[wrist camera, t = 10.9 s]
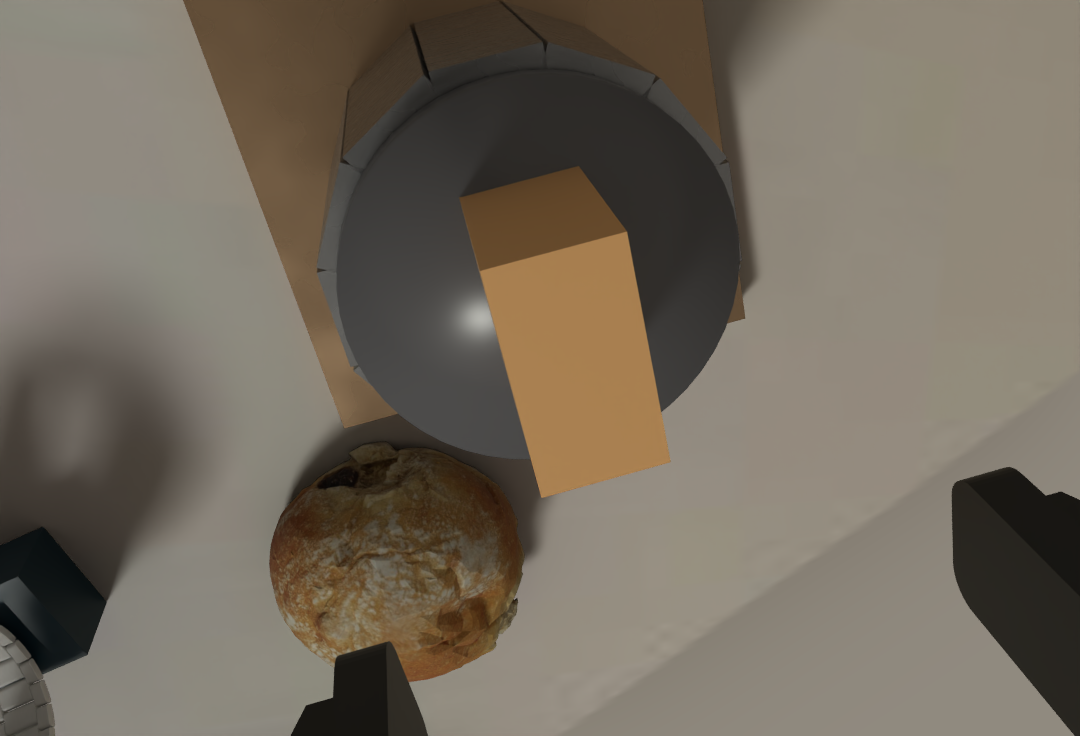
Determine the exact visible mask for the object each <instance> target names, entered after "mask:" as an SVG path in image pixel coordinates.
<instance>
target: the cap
mask: <svg viewBox="0 0 1080 736" xmlns="http://www.w3.org/2000/svg"><path fill="white" fill-rule="evenodd" d="M739 263H740V251H739V235H738V229H737V224H736V219H735V214H734V209H733V206H732V203H731V200H730V198H729V195H728V192H727V189H726V186H725V184H724V182H723V180H722V178H721V176H720V175H719V173H718V171H717V169H716V167H715V165H714V163H713V162H712V160H711V159H710V158H709V156H708V155H707V154H706V152H705V151H704V149H703V148H702V147H701V145H700V144H699V143H698V142H697V140H696V139H695V138H694V137H693V136H692V135H691V134H690V133H689V132H688V131H687V130H686V129H685V128H684V127H683V126H682V125H681V124H680V123H678V122H677V121H676V120H675V119H673V118H672V117H671V116H669V115H668V114H667V113H666V112H664V111H663V110H662V109H660V108H659V107H658V106H656V105H655V104H654V103H652V102H651V101H650V100H648V99H647V98H645V97H643V96H641V95H639V94H638V93H636V92H634V91H632V90H630V89H629V88H627V87H625V86H622V85H620V84H617V83H614V82H612V81H609V80H606V79H604V78H601V77H597V76H593V75H589V74H584V73H580V72H575V71H566V70H554V69H534V70H518V71H512V72H507V73H502V74H497V75H491V76H488V77H485V78H482V79H479V80H476V81H473V82H470V83H467V84H464V85H462V86H460V87H458V88H456V89H454V90H452V91H450V92H448V93H446V94H444V95H442V96H440V97H438V98H436V99H435V100H433V101H432V102H430V103H429V104H427V105H426V106H424V107H423V108H421V109H420V110H418V111H417V112H415V113H414V114H413V115H412V116H411V117H410V118H409V119H407V120H406V121H405V122H404V123H403V124H402V125H401V126H399V127H398V128H397V129H396V130H395V131H394V132H393V133H392V134H391V135H390V137H389V138H388V139H387V140H386V141H385V142H384V144H383V145H382V146H381V147H380V148H379V149H378V150H377V152H376V153H375V154H374V156H373V158H372V159H371V161H370V162H369V164H368V165H367V167H366V168H365V170H364V171H363V173H362V175H361V176H360V179H359V181H358V183H357V185H356V187H355V189H354V191H353V194H352V196H351V198H350V200H349V203H348V207H347V210H346V213H345V216H344V220H343V223H342V228H341V234H340V240H339V247H338V256H337V283H336V290H337V298H338V306H339V314H340V318H341V322H342V325H343V329H344V332H345V336H346V339H347V342H348V344H349V346H350V349H351V351H352V353H353V355H354V358H355V360H356V362H357V364H358V365H359V367H360V369H361V370H362V372H363V373H364V375H365V377H366V378H367V380H368V381H369V383H370V384H371V385H372V386H373V388H374V389H375V390H376V391H377V393H378V394H379V395H380V396H381V397H382V399H383V400H384V401H385V402H386V403H387V404H388V405H389V406H390V407H392V408H393V409H394V410H395V411H396V412H397V413H398V414H399V415H400V416H401V417H403V418H404V419H405V420H407V421H408V422H410V423H411V424H412V425H414V426H415V427H417V428H418V429H420V430H421V431H423V432H425V433H427V434H428V435H430V436H432V437H434V438H436V439H438V440H440V441H442V442H444V443H447V444H449V445H452V446H455V447H457V448H460V449H462V450H465V451H469V452H473V453H477V454H481V455H485V456H491V457H499V458H507V459H531V462H532V466H533V469H534V473H535V476H536V480H537V483H538V487H539V491H540V494H541V498H544V497H547V496H551V495H554V494H558V493H561V492H565V491H569V490H572V489H576V488H579V487H583V486H587V485H590V484H594V483H597V482H601V481H604V480H608V479H612V478H615V477H619V476H622V475H626V474H630V473H633V472H637V471H640V470H644V469H648V468H651V467H655V466H658V465H662V464H665V463H669V462H670V457H669V451H668V446H667V441H666V435H665V430H664V425H663V419H662V414H661V412H662V411H663V410H664V409H666V408H667V407H668V406H669V405H670V404H671V403H672V402H674V401H675V400H676V399H677V398H678V397H679V396H680V395H681V394H682V393H683V392H684V391H685V390H686V389H687V388H688V386H689V385H690V384H691V383H692V382H693V380H694V379H695V378H696V377H697V376H698V374H699V373H700V372H701V371H702V369H703V368H704V366H705V365H706V363H707V361H708V360H709V358H710V357H711V355H712V354H713V352H714V351H715V349H716V347H717V344H718V342H719V340H720V338H721V336H722V334H723V332H724V330H725V328H726V325H727V322H728V319H729V316H730V313H731V310H732V308H733V304H734V299H735V294H736V289H737V285H738V276H739Z"/></svg>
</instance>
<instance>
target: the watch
mask: <svg viewBox="0 0 1080 736" xmlns="http://www.w3.org/2000/svg"><path fill="white" fill-rule="evenodd" d="M106 603H107V602H106V601H105V599H104V598H103V597H102V596H101V595H100V593H99V592H98V591H97V590H96V589H95V588H94V586H93V585H92V584H91V583H90V582H89V580H88V579H87V578H86V577H85V576H84V575H83V573H82V572H81V571H80V570H79V569H78V567H77V566H76V565H75V564H74V563H73V562H72V560H71V559H70V558H69V557H68V556H67V554H66V553H65V552H64V551H63V550H62V549H61V547H60V546H59V545H58V544H57V543H56V541H55V540H54V539H53V538H52V537H51V536H50V534H49V533H48V532H47V531H46V530H45V528H44V527H41V528H39V529H37V530H34V531H32V532H30V533H28V534H25V535H23V536H21V537H19V538H16V539H14V540H12V541H10V542H7V543H5V544H3V545H0V736H55V729H54V728H52V727H54V726H55V721H54V714H53V709H52V705H51V704H48V703H50V702H51V698H50V695H49V692H48V689H47V686H46V684H45V681H44V680H41V679H43V675H42V674H45V673H47V672H49V671H52V670H54V669H56V668H58V667H61V666H63V665H65V664H68V663H70V662H72V661H75V660H77V659H79V658H82V657H84V656H86V655H88V652H89V649H90V646H91V644H92V641H93V638H94V635H95V633H96V630H97V627H98V625H99V622H100V619H101V616H102V614H103V611H104V608H105V605H106ZM39 680H41V681H39ZM36 681H39V682H37V683H34V682H36ZM33 683H34V684H33ZM33 700H34V701H33ZM30 701H33V702H30ZM28 702H30V703H28ZM26 703H28V704H26ZM24 704H26V705H24ZM45 704H47V705H45ZM21 705H23V706H21ZM43 705H44V706H43ZM19 706H21V707H19ZM41 706H42V707H41ZM17 707H19V708H17ZM14 708H16V709H14ZM12 709H14V710H12ZM10 710H12V711H10ZM7 711H10V712H7ZM4 722H5V723H4ZM1 723H3V724H1Z"/></svg>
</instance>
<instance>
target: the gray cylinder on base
mask: <svg viewBox="0 0 1080 736" xmlns="http://www.w3.org/2000/svg"><path fill="white" fill-rule="evenodd" d="M183 1H184V4H185V6H186V9H187V12H188V14H189V17H190V19H191V22H192V25H193V27H194V30H195V33H196V35H197V38H198V41H199V43H200V46H201V49H202V51H203V54H204V57H205V59H206V62H207V65H208V67H209V70H210V73H211V75H212V78H213V81H214V83H215V86H216V89H217V91H218V94H219V97H220V99H221V102H222V104H223V107H224V110H225V112H226V115H227V118H228V120H229V123H230V126H231V128H232V131H233V134H234V136H235V139H236V142H237V144H238V147H239V150H240V152H241V155H242V158H243V160H244V163H245V166H246V168H247V171H248V174H249V176H250V179H251V181H252V184H253V187H254V189H255V192H256V195H257V197H258V200H259V203H260V205H261V208H262V211H263V213H264V216H265V219H266V221H267V224H268V227H269V229H270V232H271V235H272V237H273V240H274V243H275V245H276V248H277V251H278V253H279V256H280V259H281V261H282V264H283V266H284V269H285V272H286V274H287V277H288V280H289V282H290V285H291V288H292V290H293V293H294V296H295V298H296V301H297V304H298V306H299V309H300V312H301V314H302V317H303V320H304V322H305V325H306V328H307V330H308V333H309V336H310V338H311V341H312V343H313V346H314V349H315V351H316V354H317V357H318V359H319V362H320V365H321V367H322V370H323V373H324V375H325V378H326V381H327V383H328V386H329V389H330V391H331V394H332V397H333V399H334V402H335V405H336V407H337V410H338V413H339V415H340V418H341V421H342V423H343V426H344V428H348V427H352V426H355V425H359V424H362V423H366V422H370V421H373V420H377V419H381V418H384V417H388V416H392V415H395V414H398V413H397V412H396V411H395V410H394V409H393V408H392V407H390V406H389V405H388V404H387V403H386V402H385V401H384V400H383V399H382V397H381V396H380V395H379V394H378V393H377V391H376V390H375V389H374V388H373V386H372V385H371V384H370V383H369V381H368V380H367V378H366V377H365V375H364V373H363V372H362V370H361V369H360V367H359V365H358V364H357V362H356V360H355V358H354V355H353V353H352V351H351V349H350V346H349V344H348V342H347V339H346V336H345V332H344V329H343V325H342V322H341V318H340V314H339V306H338V298H337V290H336V283H337V256H338V247H339V240H340V234H341V228H342V223H343V220H344V216H345V213H346V210H347V207H348V203H349V200H350V198H351V196H352V194H353V191H354V189H355V187H356V185H357V183H358V181H359V179H360V176H361V175H362V173H363V171H364V170H365V168H366V167H367V165H368V164H369V162H370V161H371V159H372V158H373V156H374V154H375V153H376V152H377V150H378V149H379V148H380V147H381V146H382V145H383V144H384V142H385V141H386V140H387V139H388V138H389V137H390V135H391V134H392V133H393V132H394V131H395V130H396V129H397V128H398V127H399V126H401V125H402V124H403V123H404V122H405V121H406V120H407V119H409V118H410V117H411V116H412V115H413V114H414V113H415V112H417V111H418V110H420V109H421V108H423V107H424V106H426V105H427V104H429V103H430V102H432V101H433V100H435V99H436V98H438V97H440V96H442V95H444V94H446V93H448V92H450V91H452V90H454V89H456V88H458V87H460V86H462V85H464V84H467V83H470V82H473V81H476V80H479V79H482V78H485V77H488V76H491V75H497V74H502V73H507V72H512V71H518V70H534V69H554V70H566V71H575V72H580V73H584V74H589V75H593V76H597V77H601V78H604V79H606V80H609V81H612V82H614V83H617V84H620V85H622V86H625V87H627V88H629V89H630V90H632V91H634V92H636V93H638V94H639V95H641V96H643V97H645V98H647V99H648V100H650V101H651V102H652V103H654V104H655V105H656V106H658V107H659V108H660V109H662V110H663V111H664V112H666V113H667V114H668V115H669V116H671V117H672V118H673V119H675V120H676V121H677V122H678V123H680V124H681V125H682V126H683V127H684V128H685V129H686V130H687V131H688V132H689V133H690V134H691V135H692V136H693V137H694V138H695V139H696V140H697V142H698V143H699V144H700V145H701V147H702V148H703V149H704V151H705V152H706V154H707V155H708V156H709V158H710V159H711V160H712V162H713V163H714V165H715V167H716V169H717V171H718V173H719V175H720V176H721V178H722V180H723V182H724V184H725V186H726V189H727V192H728V195H729V198H730V200H731V203H732V206H733V209H734V214H735V219H736V212H735V204H734V196H733V189H732V181H731V174H730V166H729V162H728V161H727V160H725V159H726V158H727V157H726V156H725V155H724V154H723V149H722V142H721V134H720V127H719V119H718V112H717V104H716V97H715V89H714V82H713V75H712V67H711V60H710V52H709V45H708V37H707V30H706V22H705V15H704V7H703V0H183ZM736 224H737V219H736ZM737 229H738V227H737ZM738 235H739V234H738ZM739 251H740V261H742V257H741V250H740V242H739ZM740 267H741V265H740V264H739V270H740ZM741 319H745V313H744V306H743V298H742V291H741V283H740V276H738V285H737V289H736V294H735V299H734V304H733V308H732V310H731V313H730V316H729V319H728V322H727V323H730V322H734V321H737V320H741Z"/></svg>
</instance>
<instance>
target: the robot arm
mask: <svg viewBox="0 0 1080 736" xmlns="http://www.w3.org/2000/svg"><path fill="white" fill-rule="evenodd" d="M952 530H953V566H954V572H955V576H956V580H957V583H958V586H959V588H960V591H961V593H962V596H963V598H964V599H965V601H966V603H967V604H968V606H969V607H970V609H971V610H972V612H973V613H974V614H975V615H976V616H977V618H978V619H979V620H980V621H981V623H982V624H983V625H984V626H985V627H986V629H987V630H988V631H989V632H990V633H991V635H992V636H993V637H994V638H995V639H996V641H997V642H998V643H999V644H1000V646H1001V647H1002V648H1003V649H1004V650H1005V652H1006V653H1007V654H1008V655H1009V657H1010V658H1011V659H1012V660H1013V661H1014V663H1015V664H1016V665H1017V666H1018V667H1019V669H1020V670H1021V671H1022V672H1023V673H1024V675H1025V676H1026V677H1027V678H1028V680H1030V682H1031V683H1032V684H1033V686H1034V687H1035V688H1036V689H1037V690H1038V692H1039V693H1040V694H1041V695H1042V697H1043V698H1044V699H1045V700H1046V701H1047V703H1048V704H1049V705H1050V706H1051V707H1052V709H1053V710H1054V711H1055V712H1056V714H1057V715H1058V716H1059V717H1060V718H1061V720H1062V721H1063V722H1064V723H1065V724H1066V726H1067V727H1068V728H1069V729H1070V730H1071V732H1072V733H1073V734H1074V735H1075V736H1080V500H1079V499H1077V498H1074V497H1072V496H1070V495H1068V494H1065V493H1063V492H1058V493H1054V494H1051V495H1047V496H1045V495H1044V494H1043V493H1042V492H1041V491H1040V490H1039V489H1038V488H1037V487H1036V486H1034V485H1033V484H1032V483H1031V482H1030V481H1029V480H1028V479H1027V478H1026V477H1025V476H1023V475H1022V474H1021V473H1020V472H1019V471H1017V470H1016V469H1014V468H1011V467H1006V468H1002V469H999V470H995V471H992V472H988V473H985V474H981V475H978V476H974V477H970V478H967V479H963V480H960V481H957V482H956V483H955V484H954V486H953V489H952ZM291 736H428V734H427V731H426V727H425V723H424V720H423V717H422V715H421V712H420V710H419V707H418V705H417V702H416V700H415V697H414V695H413V692H412V690H411V687H410V685H409V682H408V680H407V677H406V675H405V672H404V670H403V667H402V665H401V662H400V660H399V657H398V655H397V652H396V650H395V648H394V646H393V644H392V643H391V642H390V641H387V642H384V643H380V644H377V645H373V646H370V647H366V648H363V649H359V650H356V651H352V652H349V653H345V654H342V655H338V656H337V657H336V660H335V667H334V690H333V698H331V699H327V700H324V701H320V702H317V703H313V704H310V705H306V707H305V709H304V711H303V713H302V715H301V717H300V718H299V720H298V722H297V724H296V726H295V728H294V730H293V732H292V734H291Z"/></svg>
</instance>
